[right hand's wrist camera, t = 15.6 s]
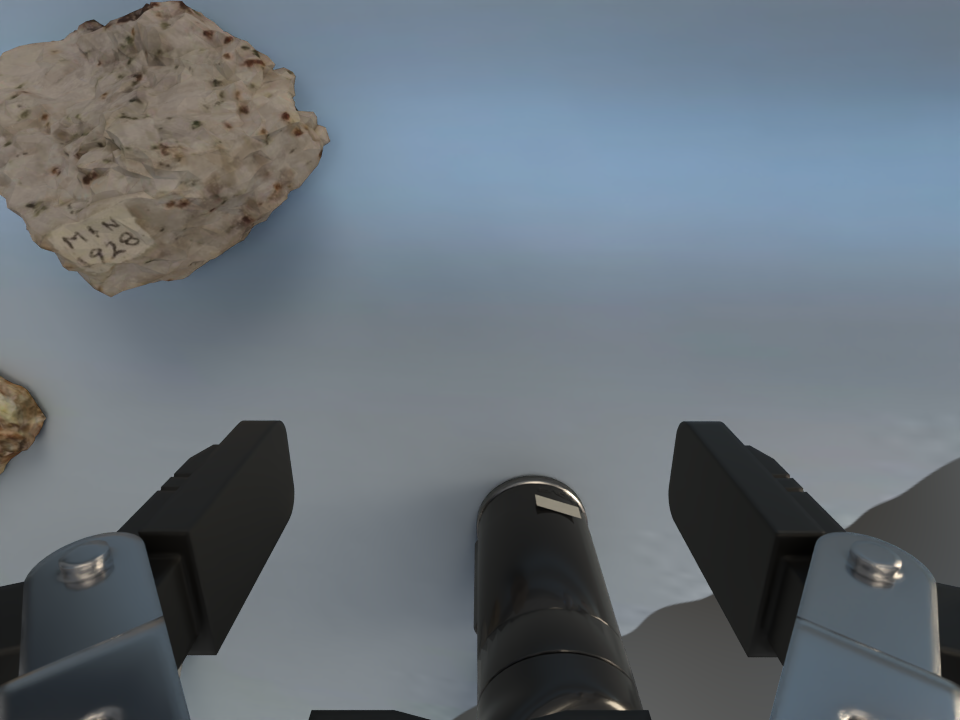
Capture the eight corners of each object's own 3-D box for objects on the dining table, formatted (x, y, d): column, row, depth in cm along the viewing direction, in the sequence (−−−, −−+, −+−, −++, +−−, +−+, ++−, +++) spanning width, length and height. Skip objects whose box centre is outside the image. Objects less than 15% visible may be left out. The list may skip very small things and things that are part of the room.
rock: (64, 359, 30) (48, 152, 20) (-68, 143, 33) (-145, -143, 22) (293, 291, 41) (362, 132, 30) (180, 131, 43) (207, -67, 33)
